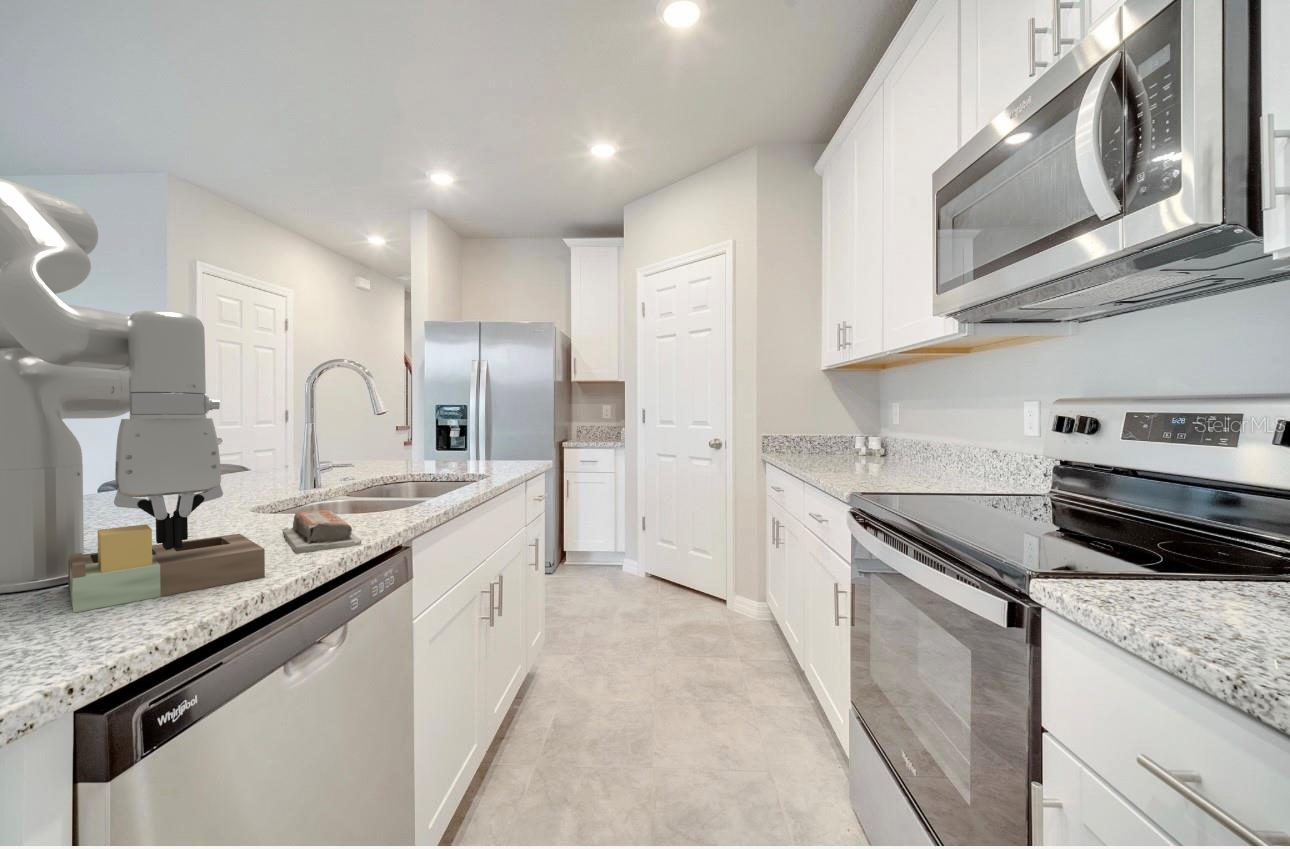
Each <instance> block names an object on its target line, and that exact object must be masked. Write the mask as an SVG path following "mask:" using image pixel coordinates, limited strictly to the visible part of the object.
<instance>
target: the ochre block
mask: <svg viewBox="0 0 1290 849" xmlns="http://www.w3.org/2000/svg"><path fill="white" fill-rule="evenodd" d="M152 545H153V529H152V528H151V527H150V526H149V525H148V524H137V525H130V526H119V527H112V528H102V529H97V553H98V567H99V569H100V571H101V573H104V572H111V571H117V570H124V569H130V568H137V567H143V566H150V565H152Z"/></svg>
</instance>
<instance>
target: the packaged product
mask: <svg viewBox="0 0 1290 849" xmlns="http://www.w3.org/2000/svg"><path fill="white" fill-rule="evenodd" d="M292 522H293V523H292V528H289V527H288V528H287V527H286V528H282V535H283V537H284V538H285V540H286V543H287V544H288V547H290V548H291V550H293V552H294V553H295V554H296V555H297V554H304V553H312V552H313V553H314V552H320V551H327V550H336V549H340V548H342V549H343V548H348V547H349V548H350V547H357V546H361V545H362V541H363V540H362V539H360V538H359V537H357V536H356V535H355V534H354V533H353V528H352V526H351V525H349V523H347V522H346V521H345V520H343V519H342V518H341V517H339V516H338V515H337V514H336V513H335V512H333V511H331V510H327V509H320V510H307V511H300V512H296V513H294V517H293V521H292Z"/></svg>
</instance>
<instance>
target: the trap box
mask: <svg viewBox="0 0 1290 849" xmlns="http://www.w3.org/2000/svg"><path fill="white" fill-rule="evenodd" d="M265 551H266V550H265V547H262V546H261V545H259V544H258V543H256V542H254V541H253V540H251V539H249V538H248V537H245V536H244V535H243V534H241V533H235V534H226V535H219V536H214V537H212V536H211V537H204V538H197V539H189V540H182V548H174V547H173V548H171V549H170V550H165V549H164V548H163V545H162V543H159V544H152V565H150V566H143V567H137V568H130V569H124V570H117V571H111V572H104V573H101V571H100V569H99V567H98V552H92V553H86V554H85V553H84V555H82V553H79V554H71V555H70V556H68V583H67V584H68V591H69V596H70V602H71V607H72V613H74V614H75V613H80V612H81V613H82V612H85V611H90V610H96V609H102V608H107V607H113V606H118V605H124V604H128V603H135V602H139V601H145V600H150V599H154V598H160V597H161V598H162V597H166V596H172V595H176V594H182V593H188V592H193V591H197V590H204V589H208V588H214V587H218V586H225V585H229V584H236V583H240V582H241V583H242V582H247V581H250V580H256V579H261V578H265V576H266V575H265V574H266V573H265V570H266V569H265V568H266V567H265V565H266V562H265V560H266V559H265V558H266V557H265Z"/></svg>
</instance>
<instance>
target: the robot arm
mask: <svg viewBox="0 0 1290 849" xmlns="http://www.w3.org/2000/svg"><path fill="white" fill-rule="evenodd" d="M98 241H99V230H98V227H97V224H96V222H95V220H94V219H93V218H92V216H91V214H89V213H88V212H87V211H86V210H85V209H84V208H83V207H81V206H80V205H78V204H76V203H75V202H73V201H70V200H68V199H65V198H63V197H59V196H56V195H53V194H50V193H47V192H44V191H40V190H38V189H36V188H32V187H29V186H26V185H23V184H21V183H17V182H14V181H11V180H7V179H4V178H0V594H7V593H8V594H9V593H16V592H17V593H18V592H24V591H30V590H37V589H45V588H48V587H49V588H50V587H54V586H58V585H64V584H68V556H70V555H71V554H79V553H82V555H84V554H85V551H84V550H85V541H84V540H85V538H84V530H85V528H84V526H85V525H84V476H83V475H84V469H83V468H84V467H83V465H84V464H83V452H82V446H81V444H80V443H79V441H78V438H77V437H76V436H75V434H74V433H73V432H72V430H70V428H69V427H68V426H67V425H66V423H65V422H64V421H63V420H65V419H66V420H67V419H68V420H70V419H76V420H77V419H107V418H109V419H110V418H116V417H120V416H123V415H125V414H127V413H129V418H120V419H121V420H120V423H119V428H118V432H117V439H116V446H115V447H116V449H115V451H116V452H115V471H114V472H115V474H114V477H115V488H116V493H115V497H114V500H113V504H114V506H116V507H117V508H126V509H139V510H142V511H143V512H145V513H146V514H149V515H150V516H152V517H153V518H155V539H156V545H159V544H162V545H163V548H164V549H165V550H170V549H171V548H173V547H174V548H182V541H188V538H189V531H188V530H189V529H188V528H189V527H188V523H189V522H188V517H189V516H190V515H191V514H192V512H193V511H195V510H196V509H197V508H198V507H199V506H200V505H201V504H202V503H206V502H209V501H213V500H216V499H220V498H222V497H223V495H224V492H223V490H222V487H221V481H222V470H221V469H222V467H221V457H220V449H219V443H218V436H217V431H216V427H215V424H214V423H215V422H214V420H213V418H211V417H210V418H207V414H208V412H210V411H213V410H220V405H221V404H220V399H213V398H210V397H208V394H206V388H207V387H206V386H207V385H206V384H207V383H206V347H205V346H206V344H205V341H206V340H205V326H204V323H203V322H202V320H200V319H199V318H198V317H197V316H195V315H191V314H189V313H181V312H175V311H168V310H167V311H165V310H141V311H140V310H139V311H135V312H134V313H132V314H131V315H129V314H124V313H120V312H115V311H114V312H113V311H107V310H103V309H96V308H92V307H91V308H90V307H87V306H85V307H84V306H79V305H74V304H73V305H72V304H68V303H66V302H65V301H63V300H62V299H60V297H59V296H58V295H57V294H60V293H64V292H67V291H71V290H73V289H74V288H76V287H78V286H80V285H81V284H82V283H84V281H86V279H87V278H88V277H89V275H90V273H91V269H92V265H91V259H90V257H89V256H88V255H90V254H91V253H92V252H93V251H94V250H95V249H96V246H98ZM172 495H177V500H176V505H175V506H176V507H175V510H174V511H173V512H172V513H173V515H172V516H171V515H170V513H169V512H168V511H167V506H166V503H165V498H164V496H172ZM145 497H147V498H148V499H146V498H145Z"/></svg>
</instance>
